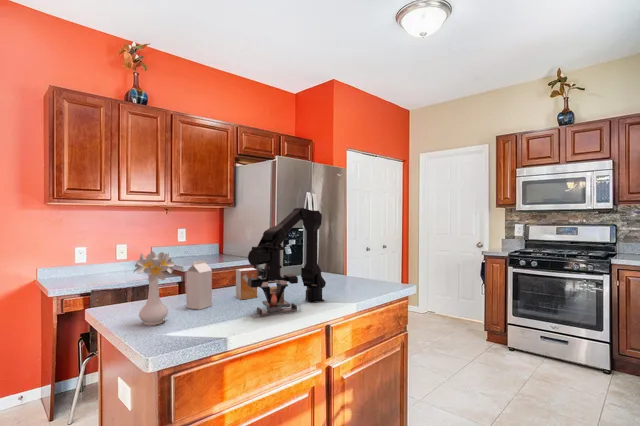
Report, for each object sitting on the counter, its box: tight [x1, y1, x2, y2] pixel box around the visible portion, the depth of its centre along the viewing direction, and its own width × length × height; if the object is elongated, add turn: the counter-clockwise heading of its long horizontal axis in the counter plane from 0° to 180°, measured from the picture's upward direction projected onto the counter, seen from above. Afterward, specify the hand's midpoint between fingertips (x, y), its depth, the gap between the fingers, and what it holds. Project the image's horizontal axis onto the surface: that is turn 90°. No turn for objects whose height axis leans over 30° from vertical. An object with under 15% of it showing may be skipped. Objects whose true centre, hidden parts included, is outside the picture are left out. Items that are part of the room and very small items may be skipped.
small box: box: [235, 267, 258, 300], centre depth 165 cm, size 8×6×13 cm
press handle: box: [266, 292, 281, 312], centre depth 138 cm, size 4×4×6 cm
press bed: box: [262, 299, 291, 308], centre depth 152 cm, size 9×10×1 cm
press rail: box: [256, 302, 298, 318], centre depth 139 cm, size 15×4×2 cm, turn 117°
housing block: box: [269, 285, 285, 303], centre depth 152 cm, size 5×5×6 cm
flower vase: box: [133, 250, 176, 326], centre depth 127 cm, size 13×18×25 cm
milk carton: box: [185, 259, 213, 311], centre depth 148 cm, size 7×7×19 cm
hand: (273, 303), depth 138 cm, fingers closed on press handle, 3 cm apart
